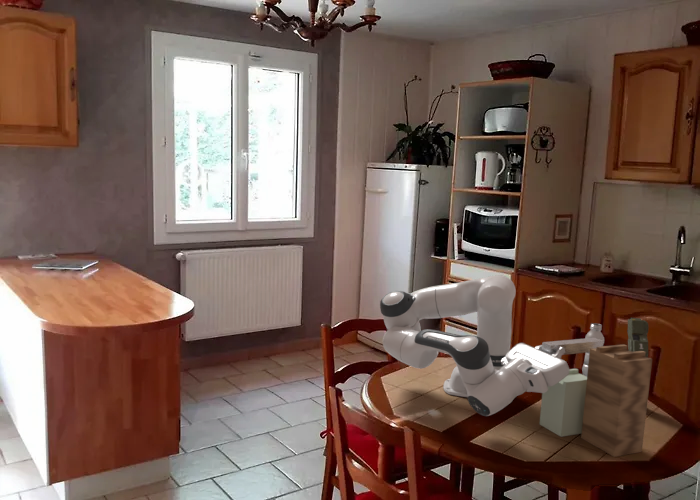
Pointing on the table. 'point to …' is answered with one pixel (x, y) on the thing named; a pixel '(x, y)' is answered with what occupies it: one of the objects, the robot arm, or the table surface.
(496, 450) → the table surface
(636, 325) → the mechanical leg
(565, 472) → the table surface
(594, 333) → the plastic bottle
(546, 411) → the shelf block
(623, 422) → the wood grain block
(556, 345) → the link bar
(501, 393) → the robot arm
